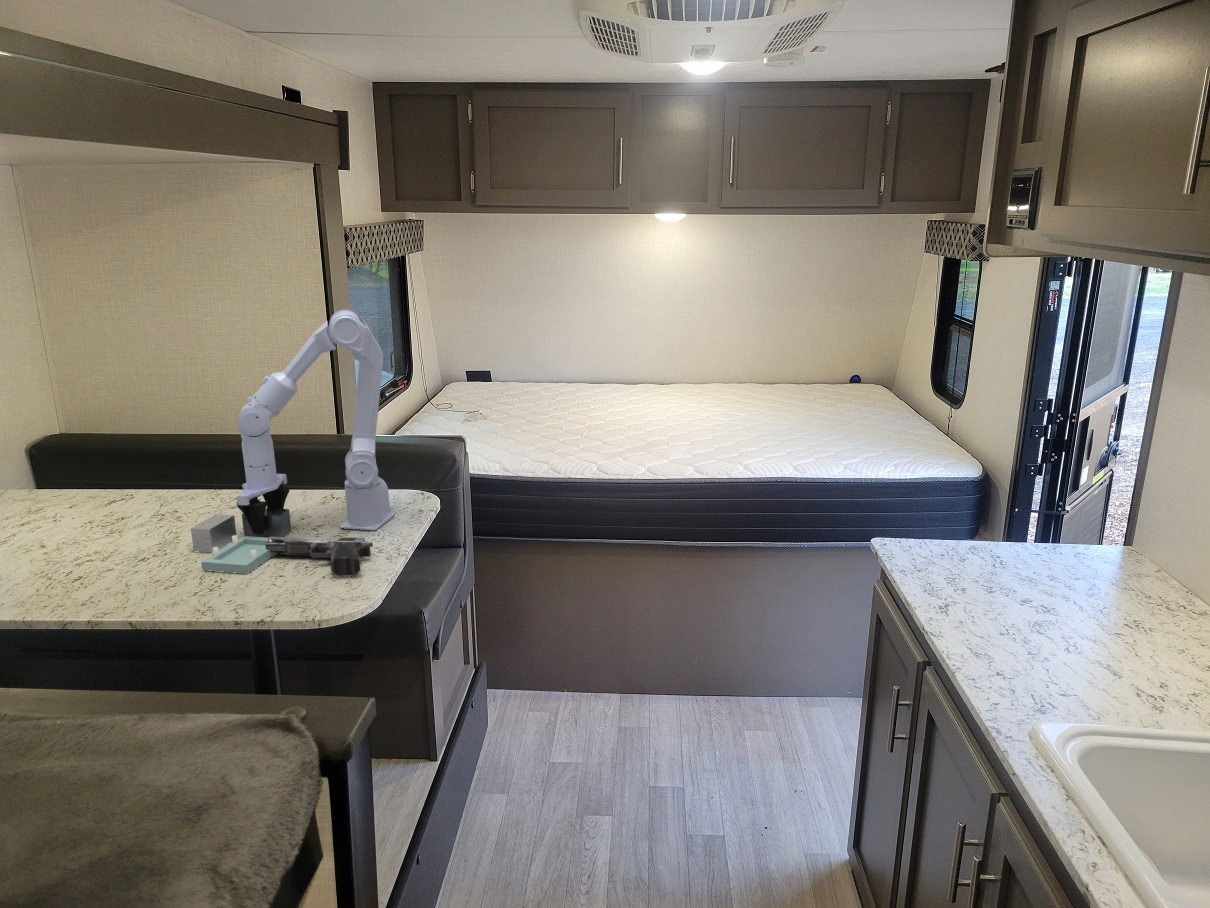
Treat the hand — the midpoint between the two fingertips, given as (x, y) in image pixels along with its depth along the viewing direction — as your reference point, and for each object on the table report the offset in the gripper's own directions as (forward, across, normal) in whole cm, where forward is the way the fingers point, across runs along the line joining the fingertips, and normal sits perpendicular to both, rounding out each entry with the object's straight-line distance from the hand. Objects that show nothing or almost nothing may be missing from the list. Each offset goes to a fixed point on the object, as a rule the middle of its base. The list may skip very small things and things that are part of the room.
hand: (267, 527), depth 170 cm
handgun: (+1, +13, +17) cm, 21 cm away
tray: (+1, +12, +3) cm, 13 cm away
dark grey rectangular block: (+2, 0, 0) cm, 2 cm away
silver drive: (+2, +7, -7) cm, 10 cm away
